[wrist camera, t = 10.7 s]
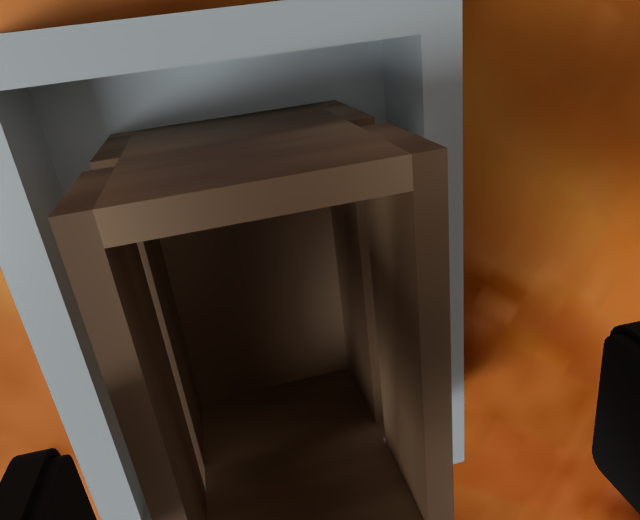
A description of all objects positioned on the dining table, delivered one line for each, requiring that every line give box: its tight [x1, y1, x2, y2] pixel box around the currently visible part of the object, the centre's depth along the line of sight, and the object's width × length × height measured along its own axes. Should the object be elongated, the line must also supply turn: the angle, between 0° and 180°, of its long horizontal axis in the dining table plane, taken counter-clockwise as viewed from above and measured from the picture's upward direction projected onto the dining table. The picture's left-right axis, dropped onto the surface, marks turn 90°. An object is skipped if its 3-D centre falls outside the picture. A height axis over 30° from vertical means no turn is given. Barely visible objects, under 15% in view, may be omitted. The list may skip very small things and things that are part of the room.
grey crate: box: [0, 0, 464, 520], centre depth 15 cm, size 11×14×4 cm
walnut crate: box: [48, 100, 454, 520], centre depth 13 cm, size 6×9×7 cm, turn 6°
